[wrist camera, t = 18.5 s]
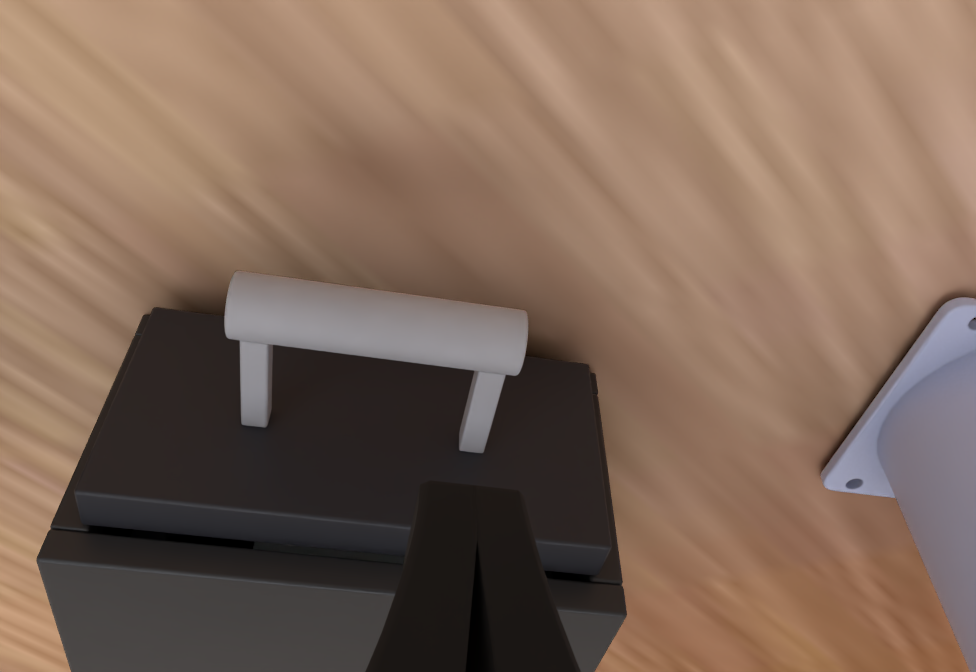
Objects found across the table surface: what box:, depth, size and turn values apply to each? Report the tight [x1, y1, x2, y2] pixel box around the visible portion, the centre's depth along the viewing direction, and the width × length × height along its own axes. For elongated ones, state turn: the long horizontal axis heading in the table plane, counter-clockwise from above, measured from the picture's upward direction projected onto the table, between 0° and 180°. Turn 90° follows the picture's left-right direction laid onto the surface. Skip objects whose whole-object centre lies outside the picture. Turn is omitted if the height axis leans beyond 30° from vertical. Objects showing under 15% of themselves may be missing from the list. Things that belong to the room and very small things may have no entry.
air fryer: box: [37, 315, 627, 672], centre depth 26 cm, size 15×13×8 cm
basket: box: [74, 270, 612, 579], centre depth 23 cm, size 18×11×6 cm, turn 169°
